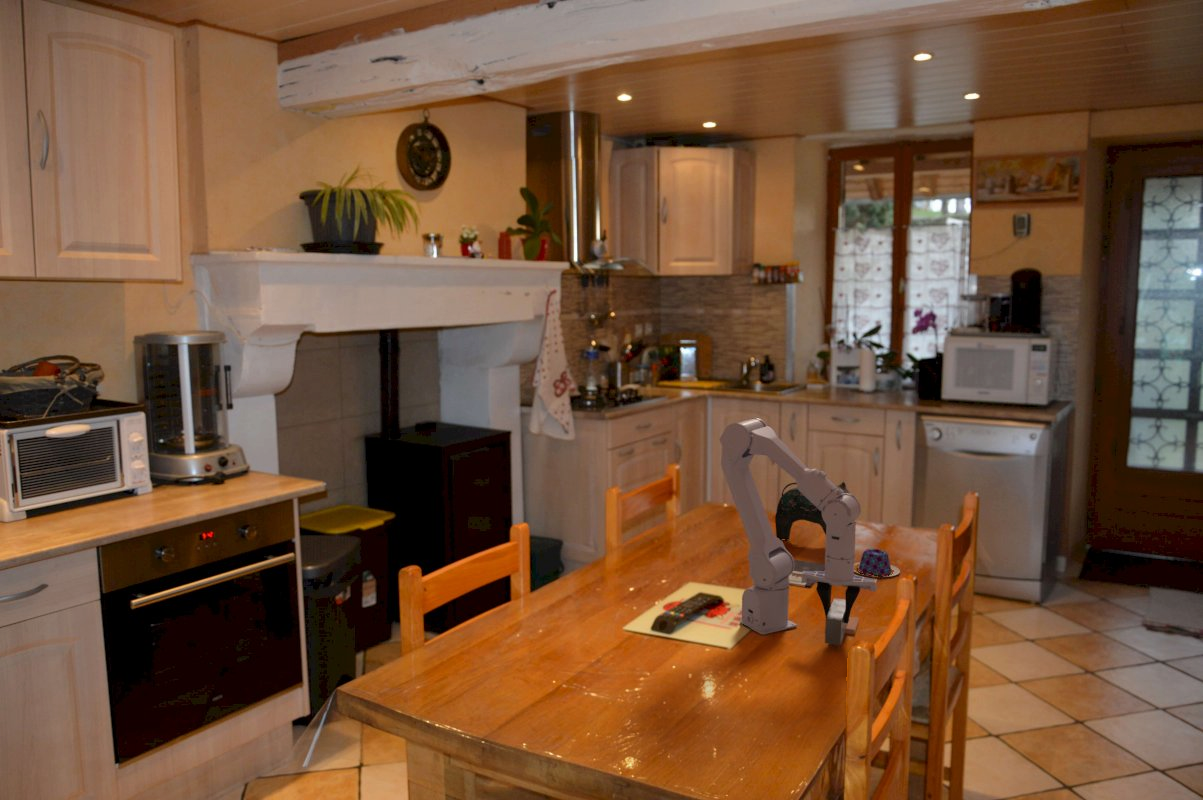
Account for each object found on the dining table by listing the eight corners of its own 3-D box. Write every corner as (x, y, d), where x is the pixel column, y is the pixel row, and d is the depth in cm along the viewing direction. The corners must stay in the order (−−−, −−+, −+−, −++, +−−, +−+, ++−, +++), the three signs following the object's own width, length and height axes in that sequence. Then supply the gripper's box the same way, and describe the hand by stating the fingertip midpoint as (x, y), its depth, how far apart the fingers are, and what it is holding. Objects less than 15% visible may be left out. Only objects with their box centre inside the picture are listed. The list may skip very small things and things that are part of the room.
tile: (854, 629, 189) (858, 617, 196) (825, 626, 191) (829, 614, 198) (854, 636, 189) (858, 624, 196) (825, 632, 192) (829, 621, 198)
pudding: (907, 579, 224) (908, 558, 224) (859, 580, 224) (859, 559, 223) (889, 564, 236) (890, 544, 236) (843, 564, 236) (844, 545, 235)
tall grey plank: (840, 645, 180) (841, 620, 179) (824, 642, 181) (825, 618, 180) (848, 623, 191) (848, 600, 190) (833, 621, 192) (834, 598, 191)
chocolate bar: (828, 564, 233) (810, 585, 217) (827, 568, 233) (810, 589, 218) (793, 559, 237) (773, 580, 221) (793, 563, 237) (773, 583, 222)
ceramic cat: (848, 546, 251) (851, 474, 248) (841, 552, 246) (844, 479, 243) (779, 535, 261) (781, 466, 259) (771, 540, 256) (773, 470, 253)
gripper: (799, 556, 183) (797, 622, 185) (875, 565, 177) (872, 632, 179) (805, 547, 189) (803, 610, 191) (878, 555, 184) (876, 619, 186)
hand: (837, 620), depth 186 cm, fingers closed on tall grey plank, 3 cm apart
